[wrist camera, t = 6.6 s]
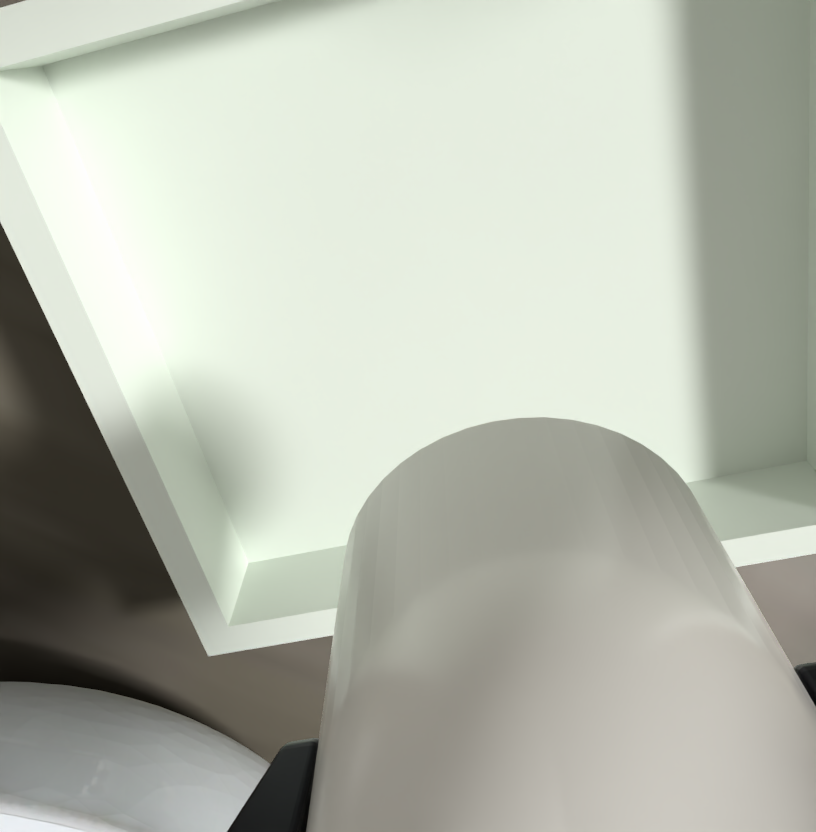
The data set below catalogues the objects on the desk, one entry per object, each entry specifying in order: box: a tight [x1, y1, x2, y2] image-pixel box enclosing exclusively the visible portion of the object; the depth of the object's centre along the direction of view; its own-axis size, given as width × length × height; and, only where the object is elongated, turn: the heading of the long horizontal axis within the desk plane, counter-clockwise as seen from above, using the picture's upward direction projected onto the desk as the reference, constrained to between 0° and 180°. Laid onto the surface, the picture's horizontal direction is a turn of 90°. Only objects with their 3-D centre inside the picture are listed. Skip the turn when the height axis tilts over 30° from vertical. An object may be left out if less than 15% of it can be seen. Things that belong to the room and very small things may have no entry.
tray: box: [0, 0, 816, 656], centre depth 16 cm, size 16×14×3 cm
